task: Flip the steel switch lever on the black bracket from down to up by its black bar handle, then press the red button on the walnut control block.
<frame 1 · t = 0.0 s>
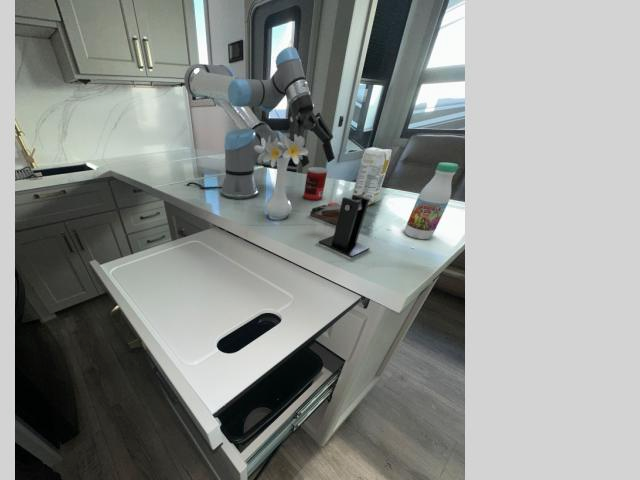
hand: (319, 162, 93), 15 cm above the worktop, tool tilted 35°, fingers open, 13 cm apart
flower vase: (275, 217, 94), on the worktop
control block: (330, 219, 92), on the worktop
lever: (336, 207, 72), point 10 cm above the worktop, hinge at -20.0°
milk bottle: (417, 235, 83), on the worktop
juice carton: (362, 203, 107), on the worktop
button: (333, 206, 89), point 4 cm above the worktop, slide at 0.1 cm
canned food: (312, 198, 111), on the worktop
bracket: (342, 248, 75), on the worktop
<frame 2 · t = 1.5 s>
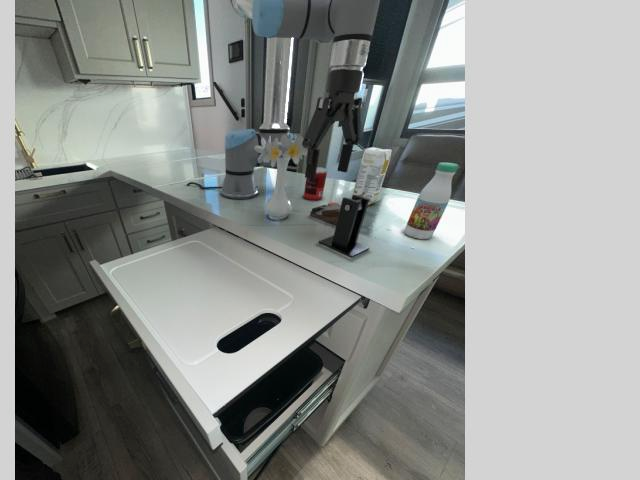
hand: (326, 174, 71), 17 cm above the worktop, tool pointing down, fingers open, 13 cm apart
nothing on the worktop moved.
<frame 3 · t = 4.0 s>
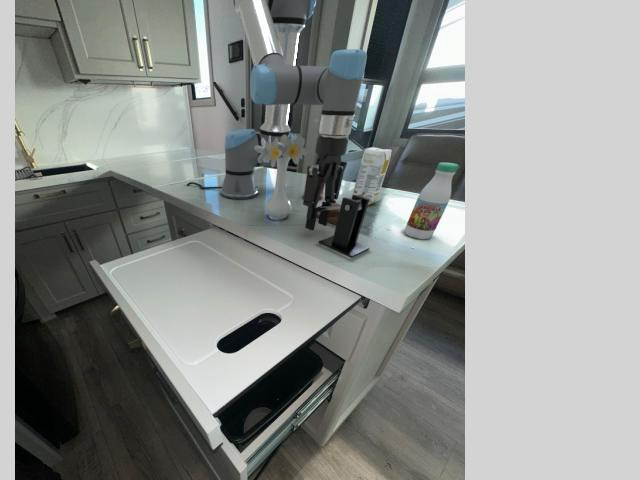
hand: (316, 226, 79), 3 cm above the worktop, tool pointing down, fingers closed on lever, 5 cm apart
lever: (336, 207, 72), point 10 cm above the worktop, hinge at -20.0°, touching gripper
everything else where it was.
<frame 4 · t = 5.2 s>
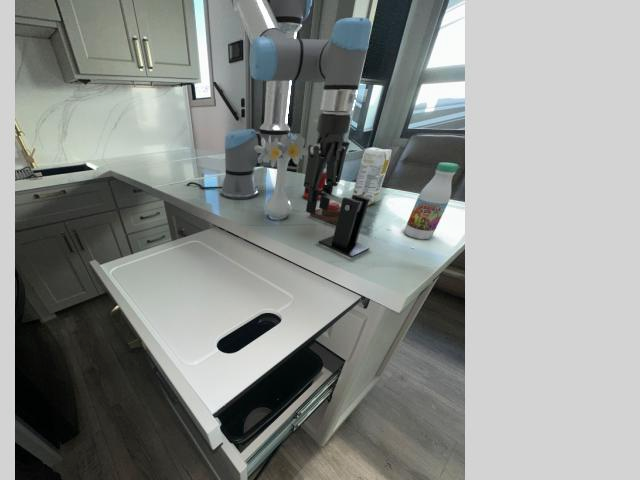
hand: (316, 210, 77), 8 cm above the worktop, tool pointing down, fingers closed on lever, 5 cm apart
lever: (337, 199, 70), point 12 cm above the worktop, hinge at 2.9°, touching gripper
everything else where it was.
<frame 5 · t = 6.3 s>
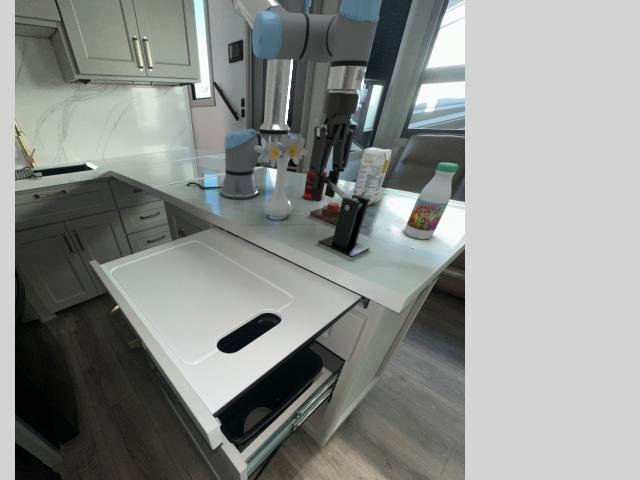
hand: (322, 197, 74), 11 cm above the worktop, tool pointing down, fingers open, 5 cm apart
lever: (340, 193, 69), point 14 cm above the worktop, hinge at 22.3°
everything else where it was.
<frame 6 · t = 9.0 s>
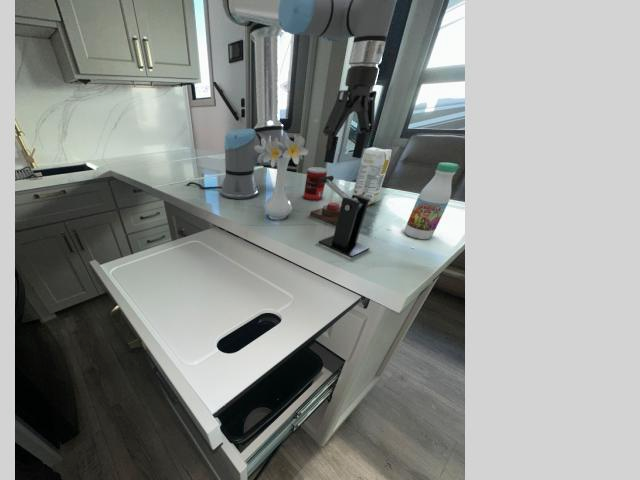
hand: (343, 160, 80), 19 cm above the worktop, tool pointing down, fingers open, 13 cm apart
nothing on the worktop moved.
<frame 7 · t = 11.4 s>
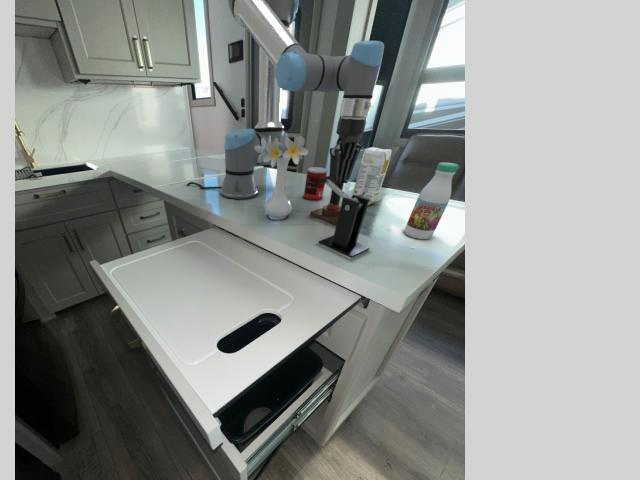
hand: (334, 203, 88), 6 cm above the worktop, tool pointing down, fingers closed
button: (333, 206, 89), point 4 cm above the worktop, slide at 0.0 cm, touching gripper
everything else where it was.
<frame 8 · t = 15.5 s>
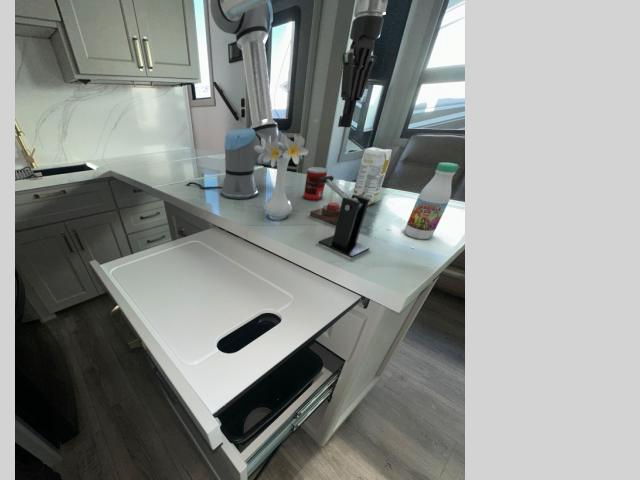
hand: (345, 126, 82), 26 cm above the worktop, tool pointing down, fingers closed
button: (333, 206, 89), point 4 cm above the worktop, slide at 0.1 cm
everything else where it was.
at the end: lever at +22° (first picture: -20°); button pushed in 1.0 cm at the most during the clip, back to where it started at the end; button slide at 0.1 cm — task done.
